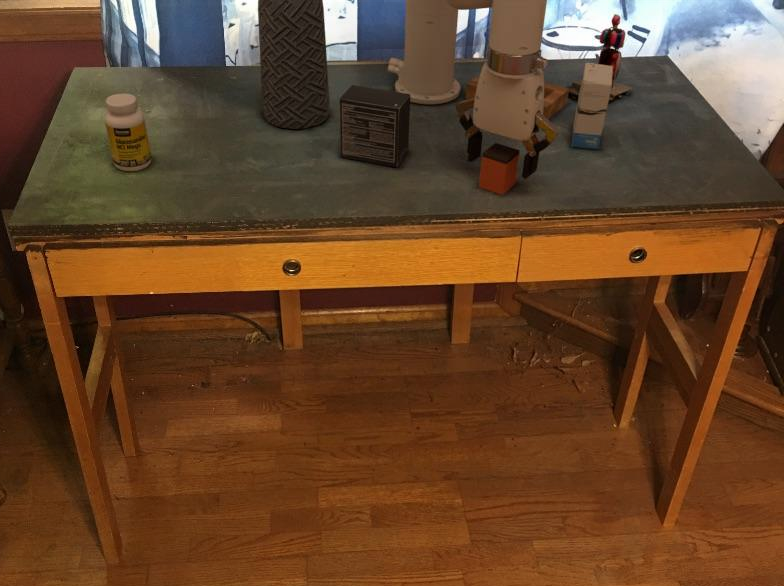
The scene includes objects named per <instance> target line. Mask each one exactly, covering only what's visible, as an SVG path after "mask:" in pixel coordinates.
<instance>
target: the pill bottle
mask: <svg viewBox="0 0 784 586" xmlns="http://www.w3.org/2000/svg"><path fill="white" fill-rule="evenodd" d="M105 105H106V110H107V112H106V114H105V116H104V123H105V128H106V133H107V139H108V143H109V148H110V153H111V157H112V162H113V165H114V167H115V168H117V169H118V170H121V171H123V172H135V171H136V172H137V171H140V170H144V169H146V168H148V167H149V166H150V164H151V163H152V154H151V148H150V143H149V137H148V131H147V126H146V120H145V115H144V113H143V112H142V111H141V110H140V109H139V108H138V101H137V97H136V96H135V95H133V94H131V93H115V94H112V95H110V96H108V97H107V98H106V99H105Z"/></svg>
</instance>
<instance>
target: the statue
mask: <svg viewBox="0 0 784 586" xmlns="http://www.w3.org/2000/svg"><path fill="white" fill-rule="evenodd" d="M620 23H621V15H619V14H617V13H614V15H613V16H612V18H611V24H612V25H611V26H610V27H609V28H605V29H602V31H601V34H600V37H599V43H600V44H601V45H602V49H601V50H600V53H599V57H598V61H597V64H601V65H608V66H613V74H612V86H611V91H610V96H609V101H610V102H613V100H614V99H615V98H616V96H617V97H618V98H619V99H620V98H623V95H622V94H626V95H627V96H628V94H629V93H630V91H631V90H632V89H633V87H631V86H626V85H624V84H621V83H619V82H618V83H617V82H615V80H616V79H617V78H618V76H619V72H620V68H621V63H622V59H623V56H622V52H621V51H619V50H620V49H623V48H624V45H625V41H626V33H627V32H626V31H625V29H622V28H619V25H620ZM581 83H582V79H579V80H576V81H573V82H572V84H571V86H566V88H567V89H569V93H568V95H570V96H571V97H572V98H573V99H577V98H579V93H580V88H581ZM609 101H608V102H609Z"/></svg>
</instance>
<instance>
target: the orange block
mask: <svg viewBox="0 0 784 586" xmlns="http://www.w3.org/2000/svg"><path fill="white" fill-rule="evenodd" d="M520 151H521V150H520V149H517V148H514V147H511V146H508V145H504V144H502V143H499V142H494V143H492V145H490V147H488V148H487V149H486V150H484V151H483V152H481V163H480V173H479V183H478V188H480V189H482V190H485V191H489V192H492V193H496V194H498V195H501V196H503V195H505V194H506V193H507V192H508V191H510V189H512V187H513V186H515V185H516V180H517V173H518V166H519V158H520Z"/></svg>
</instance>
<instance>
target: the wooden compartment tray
mask: <svg viewBox="0 0 784 586" xmlns="http://www.w3.org/2000/svg"><path fill="white" fill-rule="evenodd" d="M479 77H480V74H479V75H477V76H475V77H474V78H472V79H471V80H470V81H469V82H467V83H466V86H465V100H468V99H472V98H475V94H476V89H477V85H478V81H479ZM568 98H569V89H567V87H563V86H559V85H556V84H553V83H549V82H545V81H544V108H543V116H545V117H546V118H547V119H548V120H550V119H551V118H552V117H554V116H555V115H556V114H557V113H558V112H560V110H562V109H563V108H564V107H566V105H568V100H569V99H568Z"/></svg>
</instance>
